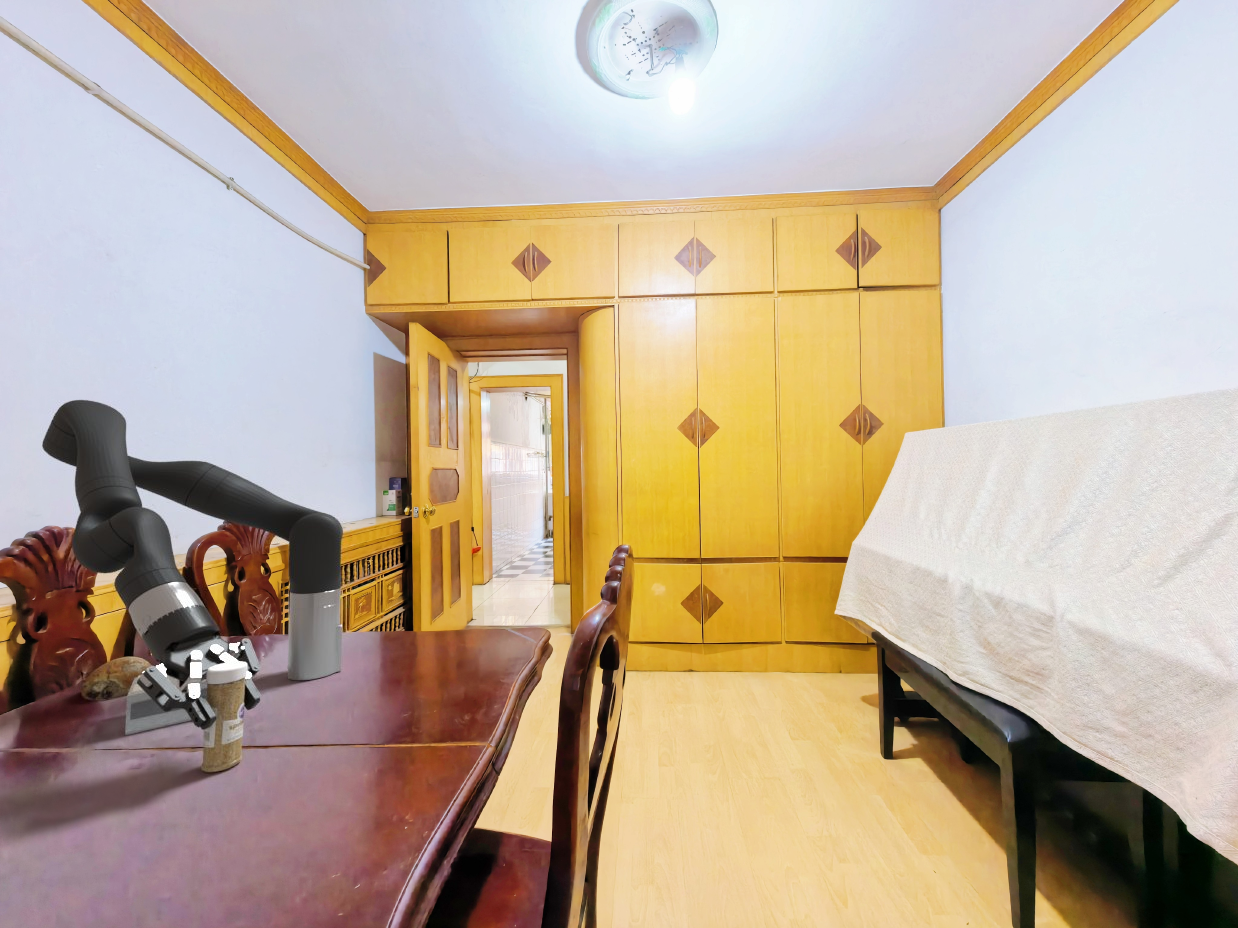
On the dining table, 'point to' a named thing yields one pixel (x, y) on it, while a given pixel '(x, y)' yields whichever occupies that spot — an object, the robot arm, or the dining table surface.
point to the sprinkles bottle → (224, 716)
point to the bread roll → (113, 678)
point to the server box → (153, 710)
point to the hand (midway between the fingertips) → (232, 714)
